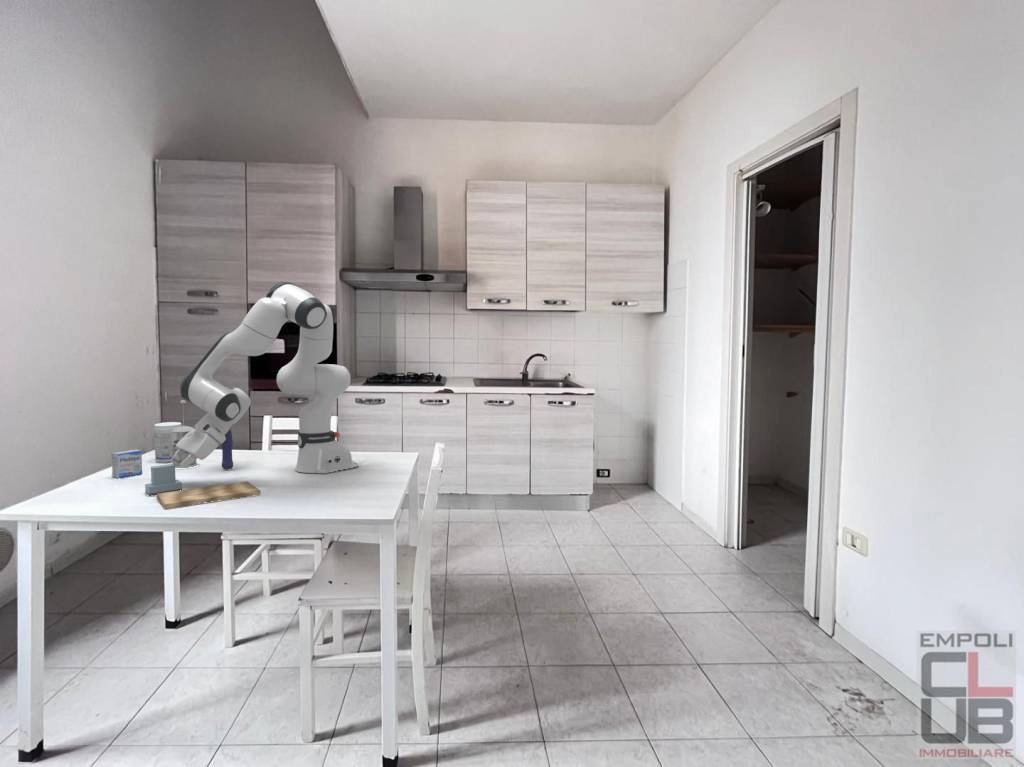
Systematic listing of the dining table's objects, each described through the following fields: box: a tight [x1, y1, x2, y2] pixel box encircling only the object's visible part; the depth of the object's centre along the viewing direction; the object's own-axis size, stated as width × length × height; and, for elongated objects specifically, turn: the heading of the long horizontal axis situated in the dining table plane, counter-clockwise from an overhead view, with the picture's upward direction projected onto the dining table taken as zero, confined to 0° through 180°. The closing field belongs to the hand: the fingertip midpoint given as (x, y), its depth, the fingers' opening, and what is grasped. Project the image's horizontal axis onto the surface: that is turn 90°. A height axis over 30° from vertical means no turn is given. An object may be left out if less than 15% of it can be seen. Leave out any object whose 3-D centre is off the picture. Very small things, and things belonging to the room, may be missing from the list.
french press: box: [171, 399, 200, 468], centre depth 223 cm, size 10×12×25 cm
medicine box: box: [111, 449, 143, 479], centre depth 208 cm, size 8×4×9 cm, turn 148°
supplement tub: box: [153, 421, 184, 464], centre depth 233 cm, size 10×10×15 cm
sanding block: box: [144, 463, 183, 497], centre depth 187 cm, size 9×5×8 cm, turn 134°
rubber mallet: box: [220, 387, 235, 471], centre depth 218 cm, size 12×8×30 cm, turn 169°
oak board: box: [156, 481, 262, 510], centre depth 183 cm, size 26×14×2 cm, turn 129°
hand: (176, 464), depth 189 cm, fingers open, 8 cm apart
